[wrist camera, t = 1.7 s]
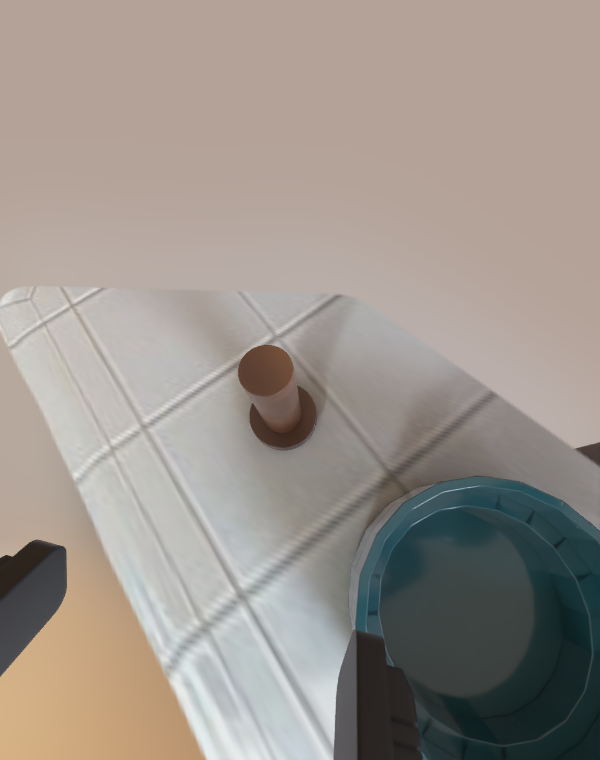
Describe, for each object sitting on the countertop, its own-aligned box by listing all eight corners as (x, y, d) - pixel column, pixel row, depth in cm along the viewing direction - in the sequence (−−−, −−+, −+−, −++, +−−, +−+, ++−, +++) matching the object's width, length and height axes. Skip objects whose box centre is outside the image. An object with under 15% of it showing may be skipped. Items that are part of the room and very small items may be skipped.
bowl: (486, 448, 28) (527, 432, 22) (636, 664, 23) (738, 712, 18) (309, 547, 26) (306, 556, 21) (431, 802, 21) (470, 905, 16)
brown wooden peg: (298, 377, 31) (287, 312, 21) (328, 431, 29) (331, 388, 19) (242, 405, 30) (203, 352, 20) (269, 462, 29) (241, 434, 19)
